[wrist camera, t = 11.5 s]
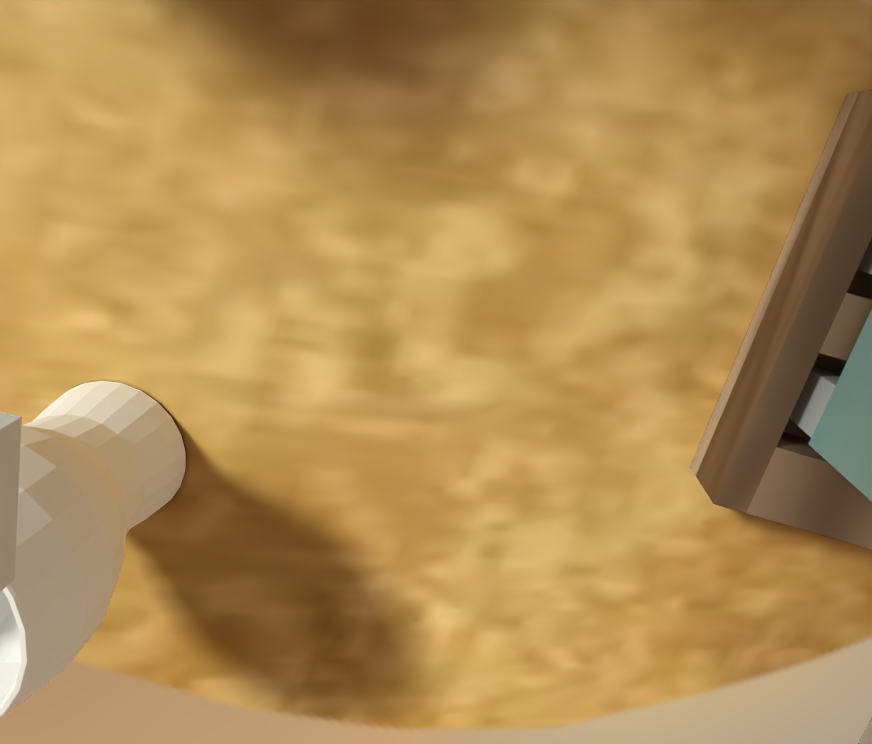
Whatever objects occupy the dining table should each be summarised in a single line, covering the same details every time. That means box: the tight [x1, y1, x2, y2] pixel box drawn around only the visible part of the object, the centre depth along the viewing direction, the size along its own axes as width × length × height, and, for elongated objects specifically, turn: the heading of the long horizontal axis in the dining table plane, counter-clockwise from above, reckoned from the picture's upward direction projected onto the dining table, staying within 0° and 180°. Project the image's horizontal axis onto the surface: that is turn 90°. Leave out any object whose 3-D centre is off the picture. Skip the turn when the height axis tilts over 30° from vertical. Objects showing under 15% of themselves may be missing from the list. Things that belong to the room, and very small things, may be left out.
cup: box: [0, 381, 186, 718], centre depth 31 cm, size 11×11×15 cm
